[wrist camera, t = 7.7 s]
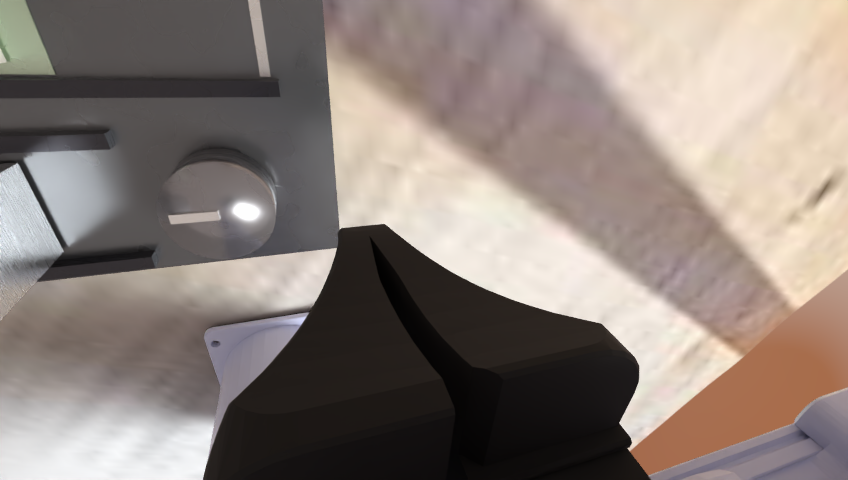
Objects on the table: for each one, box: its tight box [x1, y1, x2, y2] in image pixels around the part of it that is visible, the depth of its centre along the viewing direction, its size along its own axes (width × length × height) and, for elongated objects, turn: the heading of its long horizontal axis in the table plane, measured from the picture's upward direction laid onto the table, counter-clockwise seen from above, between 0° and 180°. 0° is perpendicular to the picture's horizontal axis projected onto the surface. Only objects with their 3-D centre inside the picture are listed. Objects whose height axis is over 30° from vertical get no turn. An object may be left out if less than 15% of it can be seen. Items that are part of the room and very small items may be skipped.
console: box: [0, 0, 339, 321], centre depth 13 cm, size 16×16×6 cm
